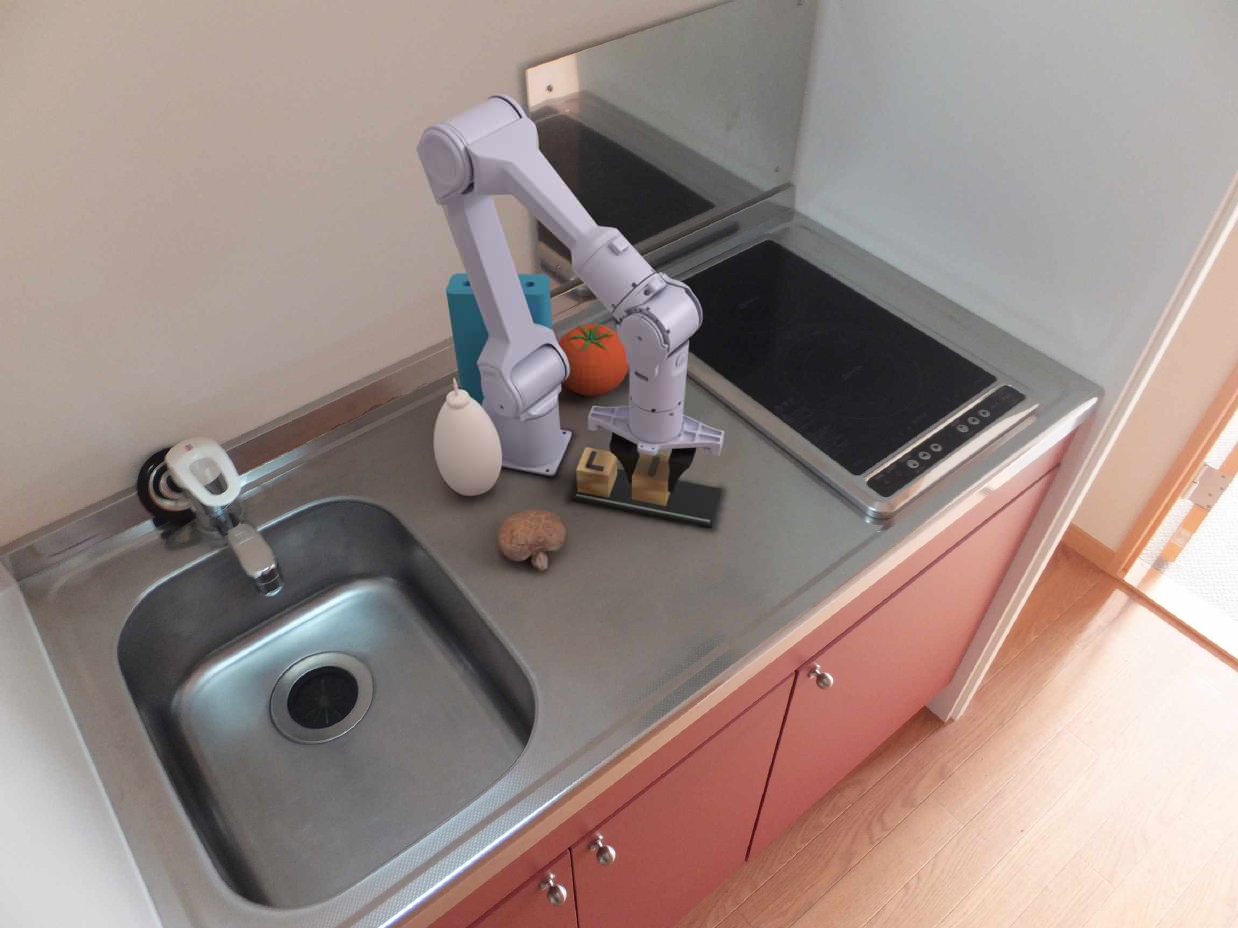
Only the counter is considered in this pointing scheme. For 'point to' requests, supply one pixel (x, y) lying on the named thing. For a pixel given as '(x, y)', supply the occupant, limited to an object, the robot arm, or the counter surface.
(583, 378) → the tomato
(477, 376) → the block
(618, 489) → the black tile rack
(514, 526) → the mushroom
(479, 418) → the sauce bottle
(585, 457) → the tile
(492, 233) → the robot arm
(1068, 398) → the counter surface
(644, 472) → the tile
